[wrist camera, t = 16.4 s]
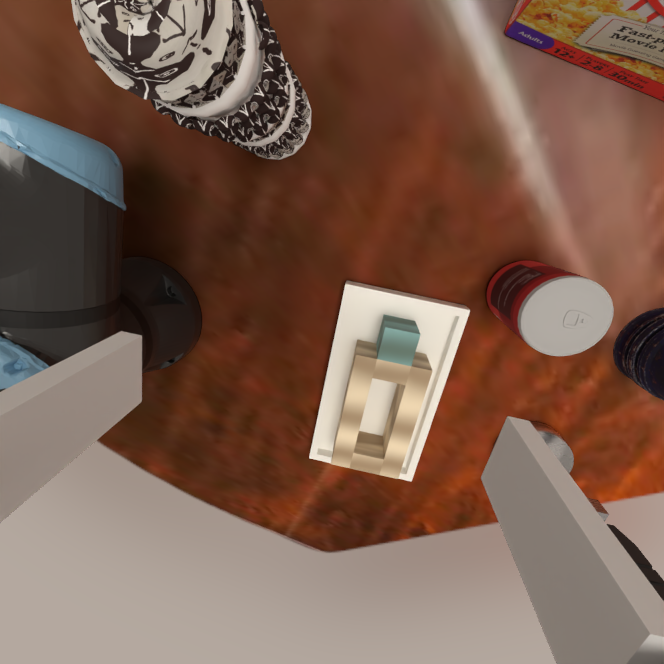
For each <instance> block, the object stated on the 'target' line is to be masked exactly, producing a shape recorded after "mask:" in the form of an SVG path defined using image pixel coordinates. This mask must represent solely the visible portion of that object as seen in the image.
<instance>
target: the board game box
mask: <svg viewBox="0 0 664 664" xmlns="http://www.w3.org/2000/svg"><path fill="white" fill-rule="evenodd" d="M505 34H506V35H507V36H509V37H512V38H514V39H516V40H518V41H521V42H523V43H526V44H528V45H530V46H533V47H535V48H538V49H540V50H543V51H545V52H548V53H550V54H552V55H555V56H557V57H560V58H562V59H564V60H567V61H569V62H571V63H574V64H577V65H579V66H581V67H584V68H586V69H589V70H591V71H593V72H596V73H598V74H600V75H603V76H605V77H608V78H610V79H613V80H615V81H618V82H620V83H622V84H625V85H627V86H629V87H632V88H634V89H636V90H639V91H641V92H643V93H646V94H648V95H651V96H653V97H655V98H657V99H660V100H662V101H664V0H518V1H517V3H516V5H515V8H514V10H513V12H512V15H511V17H510V19H509V21H508V24H507V26H506V29H505Z"/></svg>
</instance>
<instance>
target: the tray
mask: <svg viewBox="0 0 664 664" xmlns="http://www.w3.org/2000/svg"><path fill="white" fill-rule="evenodd" d="M469 313H470V309H469V308H468V307H467V306H466V305H461V304H457V303H452V302H447V301H443V300H438V299H433V298H428V297H424V296H419V295H414V294H409V293H405V292H400V291H395V290H391V289H386V288H381V287H376V286H372V285H367V284H362V283H357V282H353V281H348V280H346V284H345V288H344V293H343V298H342V303H341V307H340V312H339V317H338V322H337V327H336V331H335V336H334V341H333V346H332V351H331V355H330V360H329V365H328V370H327V374H326V379H325V384H324V389H323V394H322V398H321V403H320V408H319V413H318V418H317V422H316V427H315V432H314V437H313V442H312V446H311V451H310V456H309V458H310V459H315V460H319V461H324V462H328V463H331V460H332V453H333V446H334V440H335V436H336V431H337V427H338V422H339V418H340V414H341V409H342V405H343V400H344V396H345V392H346V387H347V383H348V378H349V374H350V370H351V365H352V361H353V356H354V352H355V348H356V343H357V339H358V340H362V341H367V342H372V343H377V339H378V335H379V331H380V327H381V323H382V319H383V315H389V316H394V317H399V318H404V319H408V320H413V321H415V322H416V324H417V327H418V329H419V332H420V334H421V335H420V338H419V342H418V345H417V349H416V352H419V353H424V354H426V355H427V357H428V360H429V363H430V365H431V368H432V375H431V378H430V381H429V384H428V387H427V390H426V393H425V397H424V400H423V403H422V406H421V409H420V412H419V415H418V419H417V422H416V425H415V428H414V431H413V434H412V437H411V440H410V444H409V447H408V450H407V453H406V456H405V459H404V462H403V466H402V469H401V472H400V475H399V478H398V479H403V480H407V481H412V478H413V476H414V473H415V470H416V467H417V464H418V461H419V458H420V455H421V452H422V449H423V447H424V444H425V441H426V438H427V435H428V432H429V429H430V426H431V423H432V420H433V417H434V415H435V412H436V409H437V406H438V403H439V400H440V397H441V394H442V391H443V388H444V386H445V383H446V380H447V377H448V374H449V371H450V368H451V365H452V362H453V359H454V357H455V354H456V351H457V348H458V345H459V342H460V339H461V336H462V333H463V330H464V328H465V325H466V322H467V319H468V316H469ZM396 387H397V383H393V382H388V381H384V380H379V379H374V378H372V381H371V385H370V389H369V393H368V397H367V401H366V405H365V409H364V413H363V417H362V421H361V425H360V429H359V431H362V432H367V433H371V434H376V435H381V436H383V433H384V429H385V426H386V422H387V418H388V415H389V411H390V408H391V404H392V401H393V397H394V394H395V390H396Z"/></svg>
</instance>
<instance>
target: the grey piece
mask: <svg viewBox="0 0 664 664" xmlns="http://www.w3.org/2000/svg"><path fill="white" fill-rule="evenodd" d="M530 422H531V424H532V425H533V426H534V428H535V429H536V430H537V432H538V433H539V434H540V436H541V437H542V438H543V440H544V441H545V442H546V444H547V445H548V446H549V448H550V449H551V451H552V452H553V453H554V455H555V456H556V457H557V459H558V460H559V461H560V463H561V464H562V465H563V467H564V468H565V469H566V471H567V472H568V473H570V472H571V469H572V467H573V462H574V458H573V453H572V451H571V449H570V447H569V446H568V445H567V444H566V442H565V441H564V440H563V439H562V438H561V436H560V435H559V434H558V433H557V432H556V431H555V430H554V429H553V428H552V427H550V426H549V425H547V424H544V423H541V422H535V421H530ZM498 437H499V436H498ZM497 439H498V438H497ZM497 439H496V441H495V444H496V442H497ZM495 444H494V446H495ZM493 449H494V448H493ZM587 499H588V500H589V502H590V503H591V504H592V506H593V507H594V508H595V510H596V511H597V512H598V514H599V515H600V516H601V518H602V519H603V520H604V522H605V520H606V518H607V517H608V515H609V514H608V513H607V511H606V510H605V509H604V508H603V506H602V505H601V504H600V502H599V501H598V500H595V499H590V498H587Z"/></svg>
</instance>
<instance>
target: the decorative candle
mask: <svg viewBox="0 0 664 664" xmlns="http://www.w3.org/2000/svg"><path fill="white" fill-rule="evenodd" d="M71 1H72V8H73V15H74V20H75V23H76V25H77V27H78V29H79V31H80V34H81V36H82V38H83V40H84V42H85V45H86V47H87V49H88V51H89V53H90V55H91V57H92V58H93V59H94V60H95V62H96V63H97V64H98V65H99V66H100V67H101V68H102V69H103V71H104V72H105V73H106V74H107V75H108V76H109V77H110V78H111V80H112V81H113V82H114V83H115V84H117V85H119V86H120V87H122V88H124V89H126V90H128V91H130V92H132V93H134V94H136V95H137V96H139V97H141V98H143V99H151V102H152V104H153V106H154V108H155V109H156V110H157V111H158V112H160V113H161V114H164V115H167V114H169V115H171V117H172V119H173V121H174V122H175V123H176V124H178V125H179V126H182V127H186V128H188V129H197V130H198V131H200V132H202V133H203V134H204V135H207V136H217V137H218V138H221V139H222V140H223V141H225V142H231V141H232V142H233V143H234V144H235V145H236V146H240V147H241V148H244V149H245V150H247V151H249V152H251V153H253V154H256V155H257V156H260V157H262V158H266V159H279V160H281V159H283V158H286V157H288V156H291V155H293V154H295V153H296V152H297V151H298V150H299V149H300V148H301V146H302V145H303V144H304V143H305V141H306V139H307V136H308V134H309V131H310V129H311V108H310V104H309V101H308V97H307V95H306V93H305V91H304V89H303V88H301V83H300V82H299V80H298V77H297V76H296V75H295V73H294V71H293V70H292V68H291V66H290V64H289V63H288V62H287V61H285V60H284V58H283V55H282V52H281V46H280V43H279V41H278V40H277V36H276V33H275V31H274V29H273V28H272V27H270V22H269V18H268V15H267V13H266V12H265V11H264V7H263V3H262V0H71Z"/></svg>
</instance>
